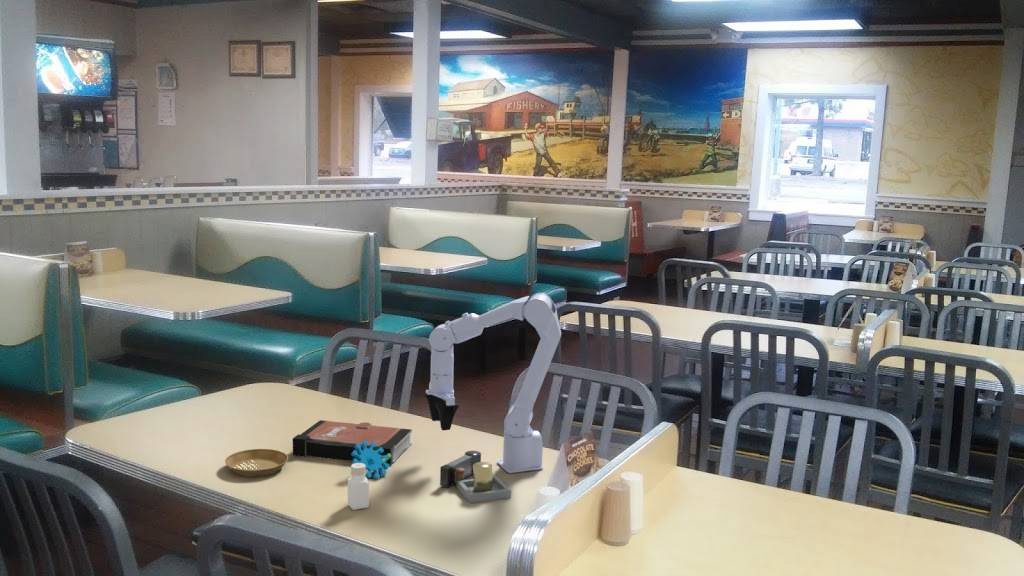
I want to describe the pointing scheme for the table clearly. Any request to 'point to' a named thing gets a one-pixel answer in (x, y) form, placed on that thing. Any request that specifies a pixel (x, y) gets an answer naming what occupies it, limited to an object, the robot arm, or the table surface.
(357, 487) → the salt shaker
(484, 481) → the cylinder
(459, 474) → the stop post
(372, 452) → the gear
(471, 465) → the crank
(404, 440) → the book
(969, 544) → the table surface
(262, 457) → the shallow brown basket
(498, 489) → the tray
